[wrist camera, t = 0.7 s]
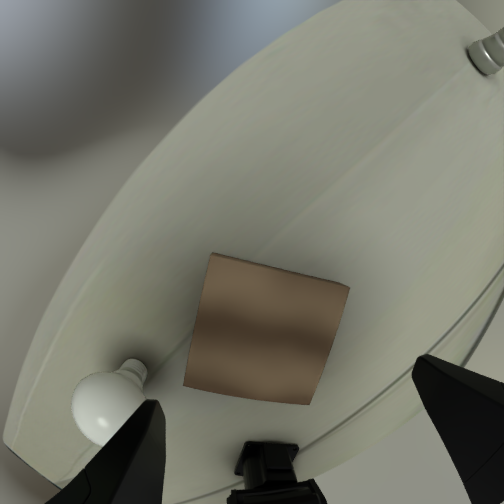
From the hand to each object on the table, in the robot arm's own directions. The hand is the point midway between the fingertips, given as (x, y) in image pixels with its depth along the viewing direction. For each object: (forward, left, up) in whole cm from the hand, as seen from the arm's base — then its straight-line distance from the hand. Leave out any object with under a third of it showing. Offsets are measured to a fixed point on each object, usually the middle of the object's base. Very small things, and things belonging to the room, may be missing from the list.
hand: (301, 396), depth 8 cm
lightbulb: (-11, +9, -17) cm, 22 cm away
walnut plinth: (-4, -2, -17) cm, 17 cm away
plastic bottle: (+45, -30, -17) cm, 57 cm away
